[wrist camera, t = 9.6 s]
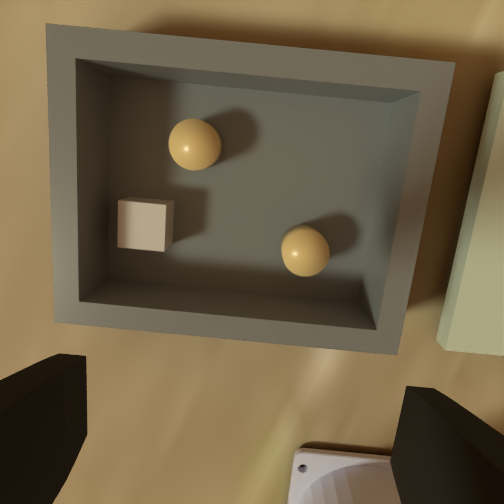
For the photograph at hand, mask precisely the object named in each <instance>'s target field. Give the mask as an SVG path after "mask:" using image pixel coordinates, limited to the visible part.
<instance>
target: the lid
mask: <svg viewBox="0 0 504 504" xmlns="http://www.w3.org/2000/svg"><path fill="white" fill-rule="evenodd" d="M436 341H437V342H438V343H439V344H440V345H441V346H442V347H443V348H444V349H445V350H447V351H458V352H468V353H479V354H490V355H500V356H504V71H501V72H499V73H496V74H495V77H494V81H493V86H492V90H491V95H490V99H489V104H488V108H487V113H486V117H485V122H484V126H483V131H482V135H481V140H480V144H479V149H478V153H477V158H476V162H475V167H474V171H473V176H472V180H471V185H470V189H469V194H468V198H467V203H466V207H465V212H464V216H463V221H462V225H461V230H460V234H459V239H458V243H457V248H456V252H455V257H454V261H453V266H452V270H451V275H450V279H449V284H448V288H447V293H446V297H445V302H444V306H443V311H442V315H441V320H440V324H439V329H438V333H437V338H436Z"/></svg>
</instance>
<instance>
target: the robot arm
mask: <svg viewBox="0 0 504 504" xmlns="http://www.w3.org/2000/svg"><path fill="white" fill-rule="evenodd" d="M86 436H87V376H86V356H81V355H70V354H56V355H54V356H51V357H49V358H46V359H44V360H42V361H40V362H37V363H35V364H33V365H31V366H29V367H27V368H25V369H23V370H21V371H19V372H16V373H14V374H12V375H10V376H8V377H6V378H4V379H2V380H0V504H52V503H53V502H54V500H55V498H56V497H57V495H58V493H59V492H60V490H61V488H62V487H63V485H64V483H65V481H66V480H67V478H68V476H69V474H70V471H71V469H72V467H73V465H74V463H75V461H76V459H77V456H78V454H79V452H80V450H81V447H82V445H83V443H84V441H85V438H86ZM302 464H304V465H306V466H304V467H300V465H302ZM287 504H504V435H502V434H501V433H499V432H498V431H496V430H495V429H494V428H492V427H491V426H489V425H488V424H486V423H485V422H484V421H482V420H481V419H479V418H478V417H477V416H475V415H474V414H472V413H471V412H469V411H468V410H467V409H465V408H464V407H462V406H461V405H459V404H458V403H456V402H455V401H453V400H452V399H450V398H449V397H447V396H446V395H444V394H442V393H441V392H439V391H437V390H436V389H434V388H424V387H413V386H406V390H405V395H404V400H403V404H402V409H401V413H400V418H399V423H398V427H397V432H396V436H395V441H394V446H393V450H392V455H391V456H383V455H373V454H362V453H352V452H342V451H331V450H321V449H311V448H300V449H298V450H297V451H296V452H295V454H294V459H293V466H292V473H291V480H290V487H289V494H288V501H287Z"/></svg>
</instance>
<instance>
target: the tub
mask: <svg viewBox="0 0 504 504" xmlns="http://www.w3.org/2000/svg"><path fill="white" fill-rule="evenodd" d="M46 52H47V86H48V119H49V153H50V186H51V219H52V253H53V286H54V319H55V322H56V323H67V324H77V325H87V326H98V327H108V328H119V329H129V330H139V331H150V332H160V333H170V334H181V335H191V336H201V337H212V338H222V339H233V340H243V341H253V342H264V343H274V344H284V345H295V346H305V347H315V348H326V349H336V350H347V351H357V352H367V353H378V354H388V355H397V354H398V349H399V344H400V339H401V334H402V329H403V324H404V319H405V314H406V309H407V304H408V299H409V294H410V289H411V284H412V279H413V274H414V269H415V264H416V259H417V254H418V249H419V244H420V239H421V234H422V229H423V224H424V219H425V214H426V209H427V204H428V199H429V195H430V190H431V185H432V180H433V175H434V170H435V165H436V160H437V155H438V150H439V145H440V140H441V135H442V130H443V125H444V120H445V115H446V110H447V105H448V100H449V95H450V90H451V85H452V80H453V75H454V70H455V65H456V62H445V61H435V60H425V59H414V58H404V57H393V56H383V55H372V54H362V53H351V52H341V51H330V50H320V49H309V48H299V47H289V46H278V45H268V44H257V43H247V42H236V41H226V40H215V39H205V38H194V37H184V36H173V35H163V34H153V33H142V32H132V31H121V30H111V29H100V28H90V27H79V26H69V25H58V24H48V23H46Z"/></svg>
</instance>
